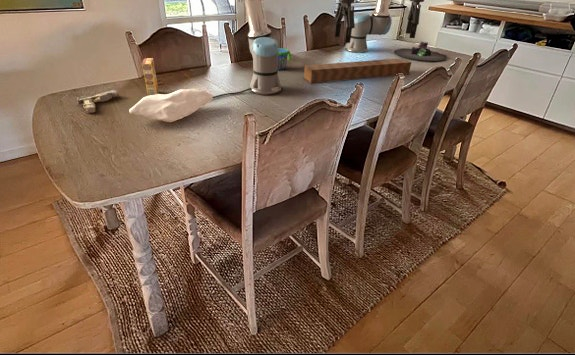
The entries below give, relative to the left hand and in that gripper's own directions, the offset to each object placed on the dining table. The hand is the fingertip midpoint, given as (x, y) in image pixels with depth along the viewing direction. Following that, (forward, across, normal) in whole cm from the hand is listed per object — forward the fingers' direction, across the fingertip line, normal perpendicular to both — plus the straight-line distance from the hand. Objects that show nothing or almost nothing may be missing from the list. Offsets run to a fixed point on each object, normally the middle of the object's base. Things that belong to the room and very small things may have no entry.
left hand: (341, 39), depth 185 cm
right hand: (0, +8, -44) cm, 45 cm away
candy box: (+22, -8, +94) cm, 97 cm away
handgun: (+22, -15, +115) cm, 118 cm away
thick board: (+20, +4, -14) cm, 25 cm away
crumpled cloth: (+22, -32, +86) cm, 94 cm away
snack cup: (+21, +25, +26) cm, 42 cm away
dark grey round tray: (+20, +41, -77) cm, 90 cm away
